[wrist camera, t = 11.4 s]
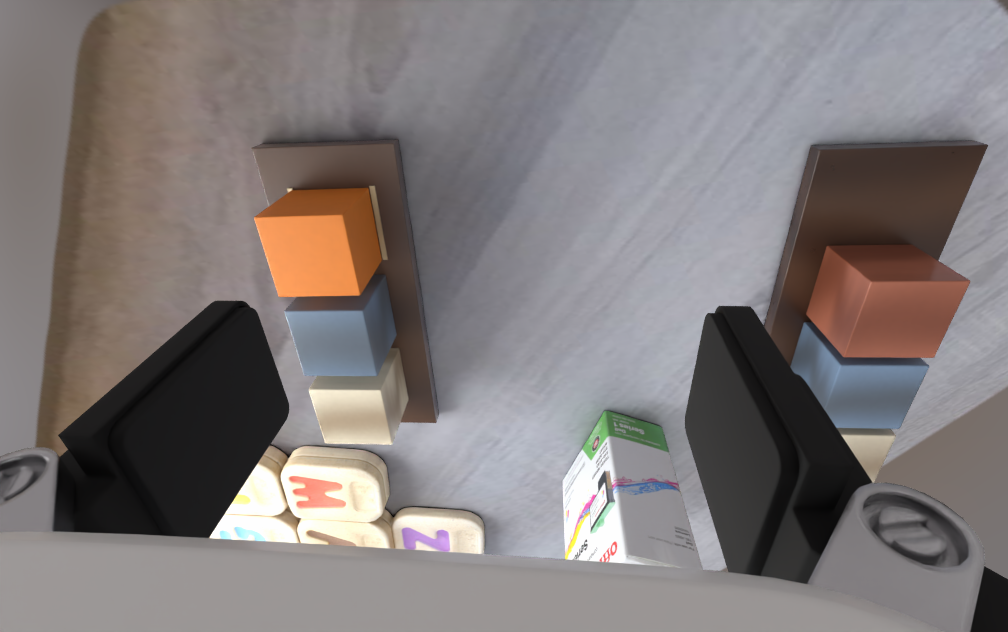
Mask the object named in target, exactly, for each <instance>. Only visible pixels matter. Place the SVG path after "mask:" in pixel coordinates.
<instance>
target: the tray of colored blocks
mask: <svg viewBox="0 0 1008 632" xmlns="http://www.w3.org/2000/svg"><path fill="white" fill-rule="evenodd" d="M252 151H253V154H254V157H255V161H256V164H257V168H258V171H259V174H260V178H261V181H262V185H263V188H264V191H265V195H266V198H267V202H268V205H269V206H270V205H272V204H273V203H275V202H276V201H277V200H279V199H280V198H282V197H283V196H284V195H286V194H287V193H289V192H290V191H291V190H317V189H347V188H368V189H369V194H370V199H371V205H372V210H373V215H374V221H375V226H376V231H377V237H378V242H379V247H380V253H381V258H382V261H381V263H380V264H379V266H378V268H377V269H376V271H375V272H374V274H373V276H372V277H371V279H370V281H369V282H368V284H367V285H366V287H365V289H364V290H363V292H362V293H361V295H359V296H306V297H296V298H295V300H294V301H293V302H292V303H291V304H290V305H289V306H288V307H287V309H286V310H285V315H286V319H287V322H288V325H289V328H290V331H291V335H292V338H293V341H294V344H295V347H296V351H297V354H298V357H299V360H300V363H301V367H302V370H303V373H304V375H305V376H317V377H316V379H315V380H314V382H313V383H312V385H311V387H310V388H309V393H310V396H311V399H312V402H313V405H314V409H315V412H316V415H317V418H318V421H319V425H320V428H321V431H322V434H323V437H324V441H325V443H332V444H384V445H392V444H393V441H394V439H395V436H396V433H397V430H398V427H399V425H400V422H417V423H436V422H437V419H438V415H439V412H438V405H437V398H436V392H435V385H434V378H433V371H432V365H431V358H430V351H429V344H428V338H427V331H426V324H425V317H424V311H423V304H422V297H421V290H420V284H419V277H418V270H417V263H416V257H415V250H414V243H413V236H412V229H411V223H410V216H409V209H408V202H407V196H406V189H405V182H404V175H403V169H402V162H401V155H400V148H399V142H398V140H370V141H340V142H310V143H280V144H260V145H258V146H255V147H253V148H252Z"/></svg>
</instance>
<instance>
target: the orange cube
mask: <svg viewBox="0 0 1008 632" xmlns="http://www.w3.org/2000/svg"><path fill="white" fill-rule="evenodd" d="M254 219H255V222H256V225H257V229H258V232H259V235H260V238H261V241H262V244H263V248H264V251H265V254H266V257H267V260H268V264H269V267H270V270H271V273H272V276H273V279H274V283H275V286H276V289H277V292H278V295H279V297H306V296H359V295H361V293H362V292H363V290H364V289H365V287H366V285H367V284H368V282H369V281H370V279H371V277H372V276H373V274H374V272H375V271H376V269H377V268H378V266H379V264H380V263H381V261H382V258H381V253H380V247H379V242H378V237H377V231H376V226H375V221H374V215H373V210H372V205H371V199H370V194H369V189H368V188H347V189H317V190H291V191H290V192H289V193H287V194H286V195H284V196H283V197H282V198H280V199H279V200H277V201H276V202H275V203H273V204H272V205H270V206H269V207H268V208H266V209H265V210H264V211H262V212H261V213H259V214H258V215H257V216H255V217H254Z"/></svg>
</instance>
